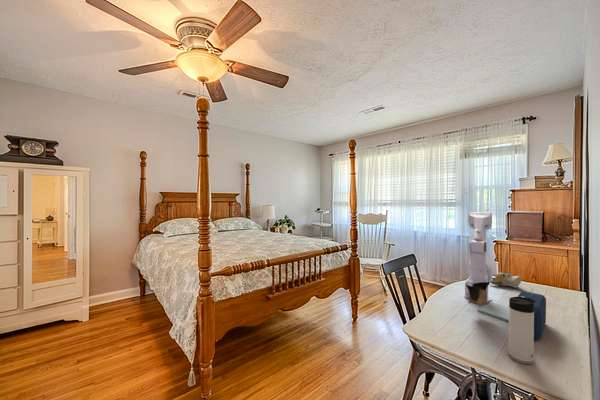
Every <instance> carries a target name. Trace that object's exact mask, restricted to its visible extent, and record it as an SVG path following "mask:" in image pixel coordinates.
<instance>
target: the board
mask: <svg viewBox="0 0 600 400" xmlns="http://www.w3.org/2000/svg"><path fill="white" fill-rule="evenodd" d="M477 312H479V313H481V314H484V315H487V316H490V317H493V318H496V319H499V320H502V321H504V322H508V323H509V306H506V305H503V304H500V303H497V302H494V301H492V302H491V301H490V302H488V303H487V304H485V305H483V306H480V308H478V309H477Z"/></svg>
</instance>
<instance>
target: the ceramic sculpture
mask: <svg viewBox="0 0 600 400" xmlns="http://www.w3.org/2000/svg"><path fill="white" fill-rule="evenodd" d="M522 277H523V276H522V275H512V274H511V272H508V271H504V272H497V273H496V274H495V277H492V282H491V283H490V284H492V285H495V286H502V287H512V288H514V289H518V287H519V286H520V284H521V283H522Z"/></svg>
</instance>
